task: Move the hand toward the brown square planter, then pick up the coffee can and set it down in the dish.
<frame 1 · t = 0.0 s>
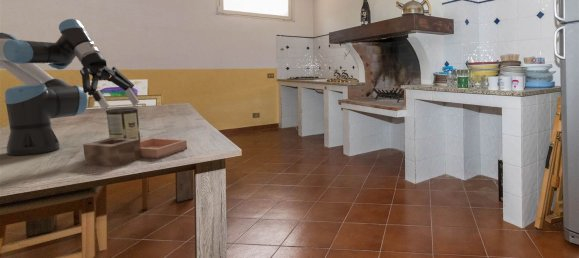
hand: (122, 105, 122), 15 cm above the table, tool tilted 35°, fingers open, 13 cm apart
dish: (155, 151, 118), on the table
brown square planter: (114, 160, 107), on the table
coffee can: (125, 148, 125), on the table
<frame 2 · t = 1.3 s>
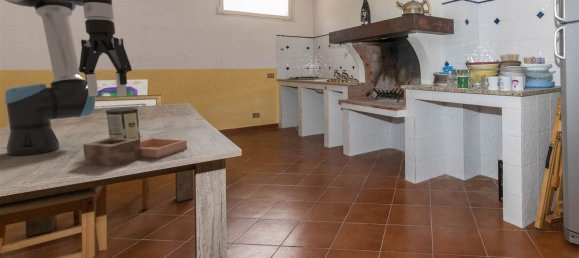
hand: (107, 96, 103), 20 cm above the table, tool pointing down, fingers open, 11 cm apart
nothing on the table moved.
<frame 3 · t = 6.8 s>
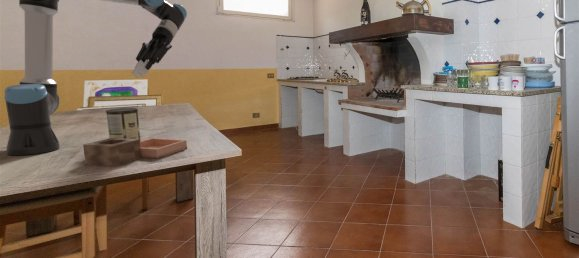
hand: (138, 74, 129), 26 cm above the table, tool tilted 45°, fingers open, 2 cm apart
nothing on the table moved.
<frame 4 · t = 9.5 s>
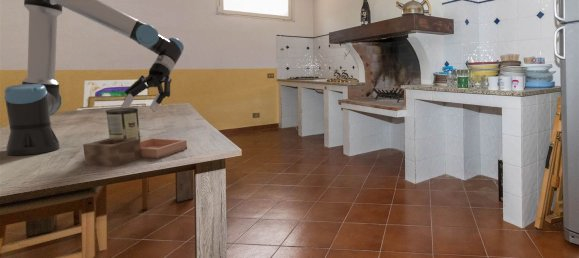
hand: (137, 109, 129), 13 cm above the table, tool tilted 45°, fingers open, 13 cm apart
nothing on the table moved.
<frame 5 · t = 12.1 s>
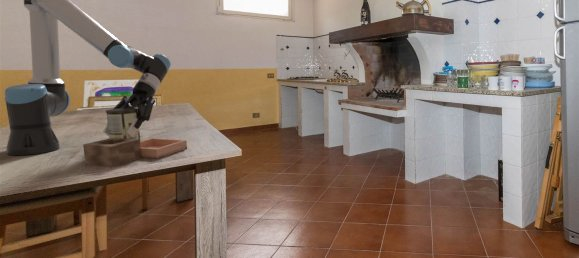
hand: (117, 134, 121), 6 cm above the table, tool tilted 45°, fingers closed on coffee can, 10 cm apart
coffee can: (125, 148, 125), on the table, touching gripper
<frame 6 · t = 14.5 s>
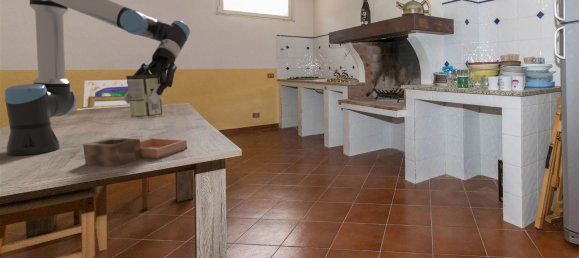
hand: (138, 101, 114), 17 cm above the table, tool tilted 45°, fingers closed on coffee can, 10 cm apart
coffee can: (146, 117, 118), point 12 cm above the table, touching gripper
when the fingers open (8 cm above the table, at t = 17.1 s): coffee can drops 1 cm, resting on dish.
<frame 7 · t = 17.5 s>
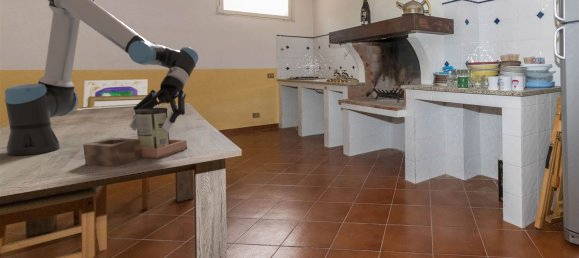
hand: (148, 129, 114), 8 cm above the table, tool tilted 45°, fingers open, 13 cm apart
coffee can: (154, 150, 118), resting on dish
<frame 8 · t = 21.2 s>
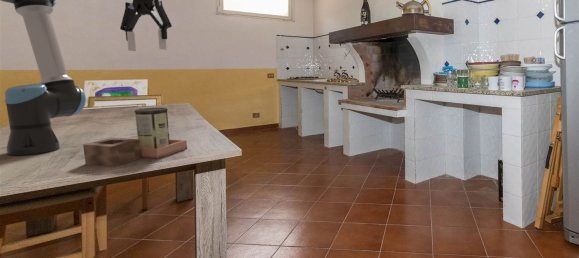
hand: (147, 50, 120), 35 cm above the table, tool pointing down, fingers open, 13 cm apart
nothing on the table moved.
at the end: coffee can inside the target area on the dish (0.2 cm from its centre), point 0.4 cm above the dish's base; coffee can tilted 0°; the gripper is holding nothing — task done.
